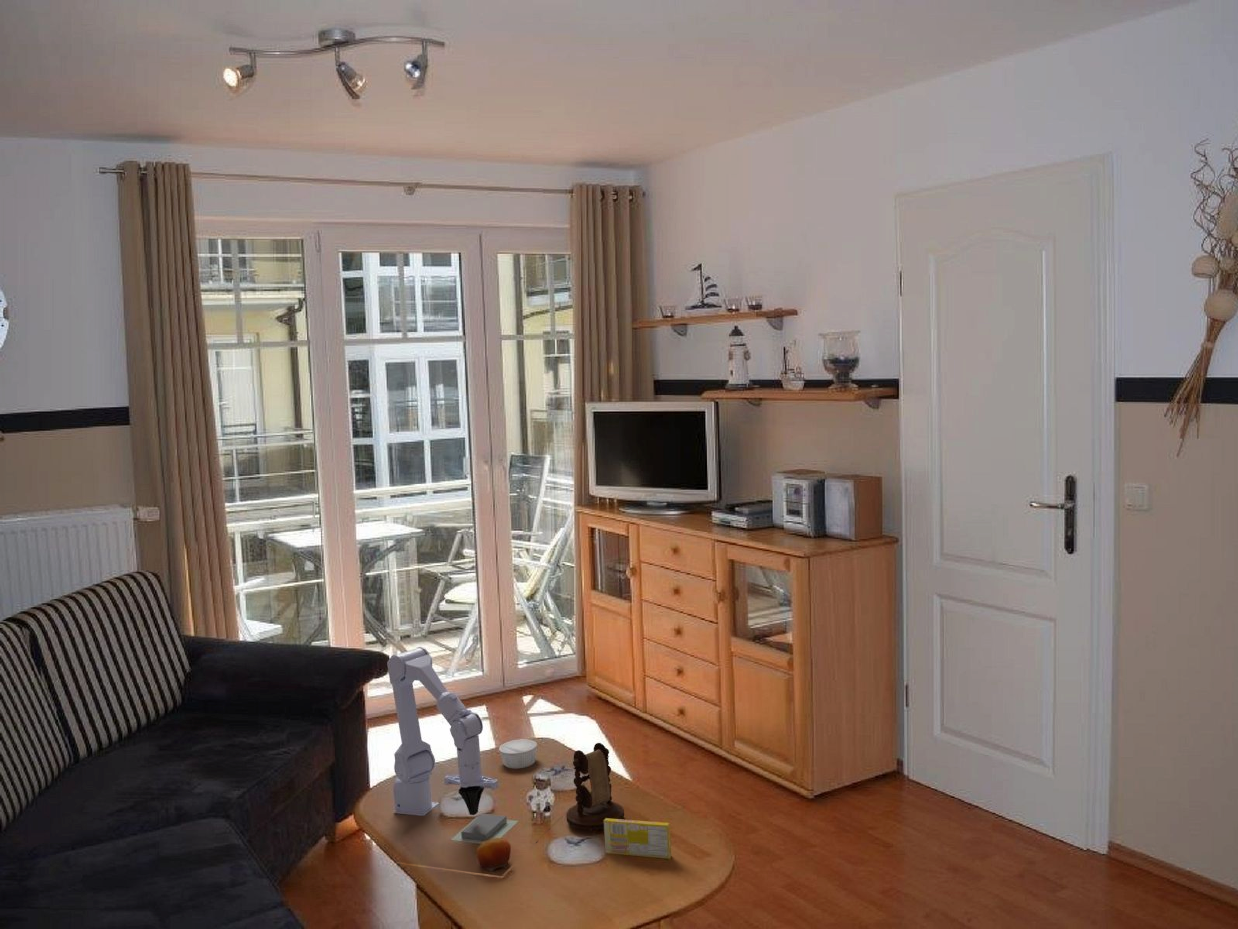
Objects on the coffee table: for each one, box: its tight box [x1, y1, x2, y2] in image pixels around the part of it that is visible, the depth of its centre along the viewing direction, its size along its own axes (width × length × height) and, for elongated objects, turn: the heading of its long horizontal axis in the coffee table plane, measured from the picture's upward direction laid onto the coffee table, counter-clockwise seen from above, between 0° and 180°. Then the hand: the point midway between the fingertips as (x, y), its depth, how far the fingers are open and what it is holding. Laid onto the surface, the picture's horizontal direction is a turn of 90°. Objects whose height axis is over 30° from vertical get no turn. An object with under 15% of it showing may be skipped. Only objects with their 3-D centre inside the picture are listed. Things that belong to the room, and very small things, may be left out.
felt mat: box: [450, 816, 519, 845], centre depth 288 cm, size 12×14×1 cm
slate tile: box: [460, 813, 508, 841], centre depth 288 cm, size 2×11×7 cm
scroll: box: [565, 742, 625, 835], centre depth 288 cm, size 15×15×20 cm
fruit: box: [476, 837, 511, 873], centre depth 268 cm, size 8×8×8 cm
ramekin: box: [498, 738, 538, 770], centre depth 333 cm, size 11×11×5 cm
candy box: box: [603, 818, 673, 860], centre depth 270 cm, size 16×2×8 cm, turn 71°
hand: (473, 813), depth 289 cm, fingers closed
